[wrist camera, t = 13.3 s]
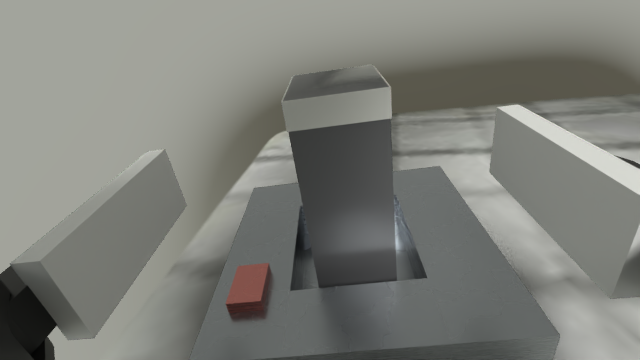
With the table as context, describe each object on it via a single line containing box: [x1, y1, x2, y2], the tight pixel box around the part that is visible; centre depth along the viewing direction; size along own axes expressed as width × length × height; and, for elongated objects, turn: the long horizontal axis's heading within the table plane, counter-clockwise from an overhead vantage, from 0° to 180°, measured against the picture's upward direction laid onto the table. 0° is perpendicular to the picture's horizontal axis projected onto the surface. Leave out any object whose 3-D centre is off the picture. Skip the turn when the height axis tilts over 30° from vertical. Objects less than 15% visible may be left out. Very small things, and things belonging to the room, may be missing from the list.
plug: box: [281, 64, 397, 288], centre depth 17 cm, size 4×5×11 cm
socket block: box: [189, 166, 560, 360], centre depth 19 cm, size 14×14×4 cm
